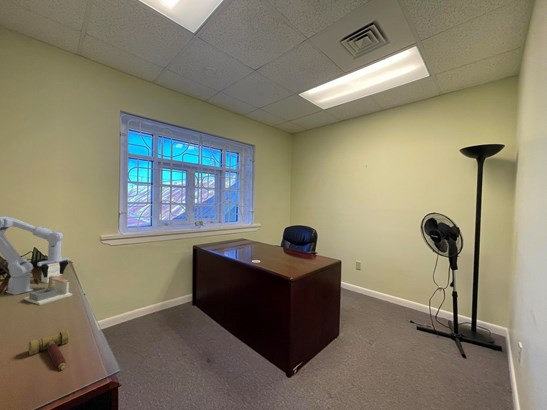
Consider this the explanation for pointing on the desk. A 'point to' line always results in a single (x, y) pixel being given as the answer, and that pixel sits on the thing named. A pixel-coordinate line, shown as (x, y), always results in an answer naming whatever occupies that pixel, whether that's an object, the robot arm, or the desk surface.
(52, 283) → the maple peg
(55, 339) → the gavel
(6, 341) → the desk surface
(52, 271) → the ink cartridge box
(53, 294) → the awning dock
